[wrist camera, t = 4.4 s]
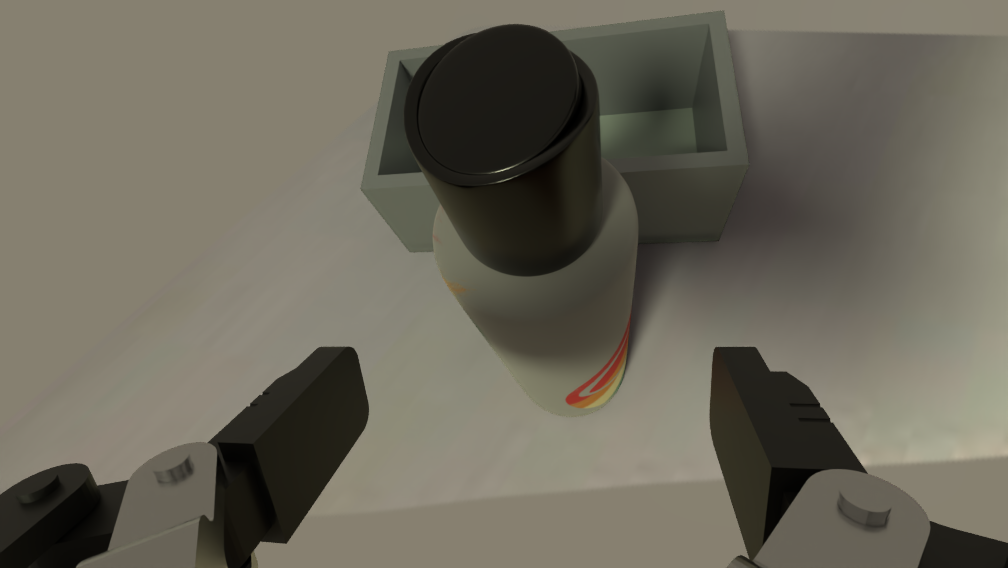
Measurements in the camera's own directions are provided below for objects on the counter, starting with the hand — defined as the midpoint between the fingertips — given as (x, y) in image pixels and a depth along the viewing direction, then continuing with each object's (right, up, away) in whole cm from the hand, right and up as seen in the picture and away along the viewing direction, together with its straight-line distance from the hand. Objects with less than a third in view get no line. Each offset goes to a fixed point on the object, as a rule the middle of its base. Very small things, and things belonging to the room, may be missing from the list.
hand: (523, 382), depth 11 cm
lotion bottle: (+3, -2, +16) cm, 16 cm away
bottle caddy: (+3, +9, +21) cm, 23 cm away
